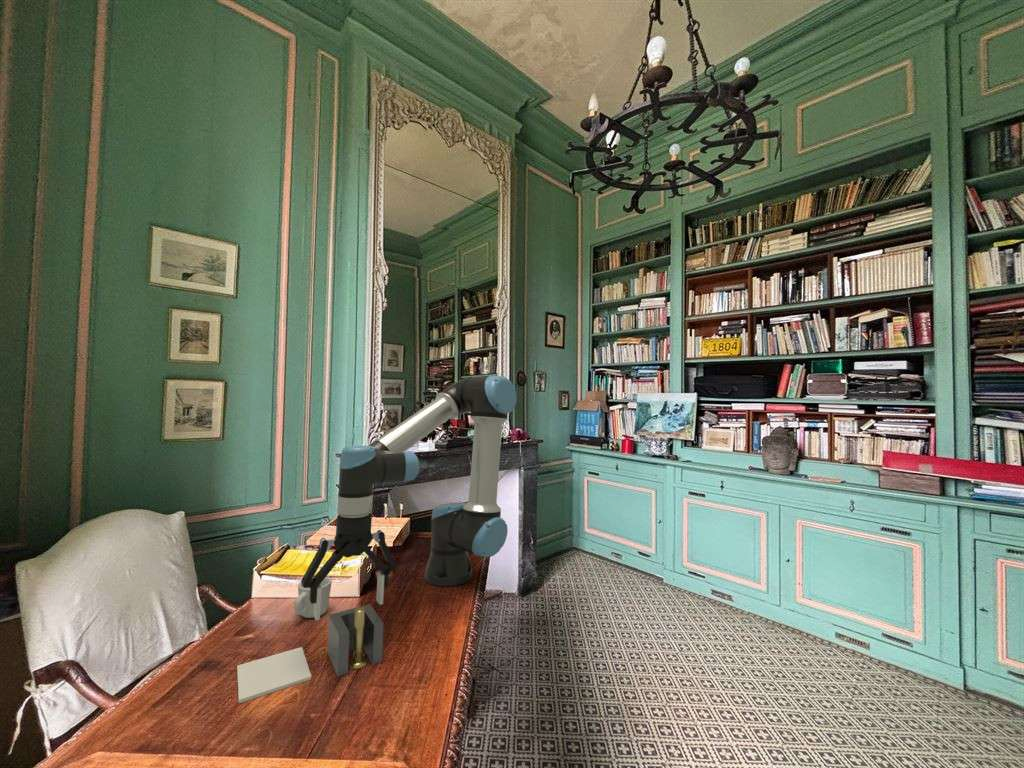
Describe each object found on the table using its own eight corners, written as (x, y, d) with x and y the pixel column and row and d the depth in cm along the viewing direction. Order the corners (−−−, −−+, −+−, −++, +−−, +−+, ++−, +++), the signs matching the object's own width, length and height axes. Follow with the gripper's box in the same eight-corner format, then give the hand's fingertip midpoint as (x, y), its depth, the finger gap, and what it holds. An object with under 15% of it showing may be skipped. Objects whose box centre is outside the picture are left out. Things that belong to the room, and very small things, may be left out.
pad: (301, 649, 91) (302, 646, 91) (311, 679, 81) (311, 676, 81) (237, 668, 84) (237, 665, 84) (238, 703, 74) (238, 700, 74)
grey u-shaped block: (368, 639, 95) (369, 604, 96) (382, 661, 87) (383, 622, 88) (327, 652, 90) (328, 614, 91) (337, 676, 82) (339, 635, 83)
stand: (364, 656, 89) (366, 604, 90) (369, 665, 86) (370, 611, 87) (346, 662, 87) (349, 608, 87) (351, 671, 84) (353, 616, 85)
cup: (309, 629, 99) (310, 595, 100) (281, 625, 101) (282, 591, 102) (336, 608, 110) (338, 577, 111) (310, 604, 112) (312, 574, 112)
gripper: (401, 504, 104) (397, 590, 102) (291, 516, 90) (284, 616, 88) (412, 511, 98) (408, 602, 96) (296, 524, 84) (289, 632, 82)
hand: (349, 609), depth 92 cm, fingers open, 13 cm apart
